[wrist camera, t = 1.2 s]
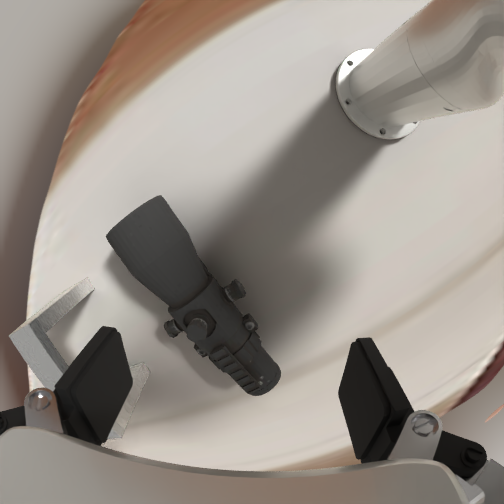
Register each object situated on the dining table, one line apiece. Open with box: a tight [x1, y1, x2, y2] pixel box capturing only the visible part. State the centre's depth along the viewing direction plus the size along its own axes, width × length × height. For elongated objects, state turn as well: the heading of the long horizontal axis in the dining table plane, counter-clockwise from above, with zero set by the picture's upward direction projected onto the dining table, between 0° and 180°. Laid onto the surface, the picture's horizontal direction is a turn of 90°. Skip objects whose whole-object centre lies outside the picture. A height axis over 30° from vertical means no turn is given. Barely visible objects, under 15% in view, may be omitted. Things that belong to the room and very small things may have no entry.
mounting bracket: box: [9, 277, 150, 439], centre depth 32 cm, size 6×18×14 cm, turn 24°
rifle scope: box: [106, 195, 281, 396], centre depth 31 cm, size 10×26×10 cm, turn 33°
